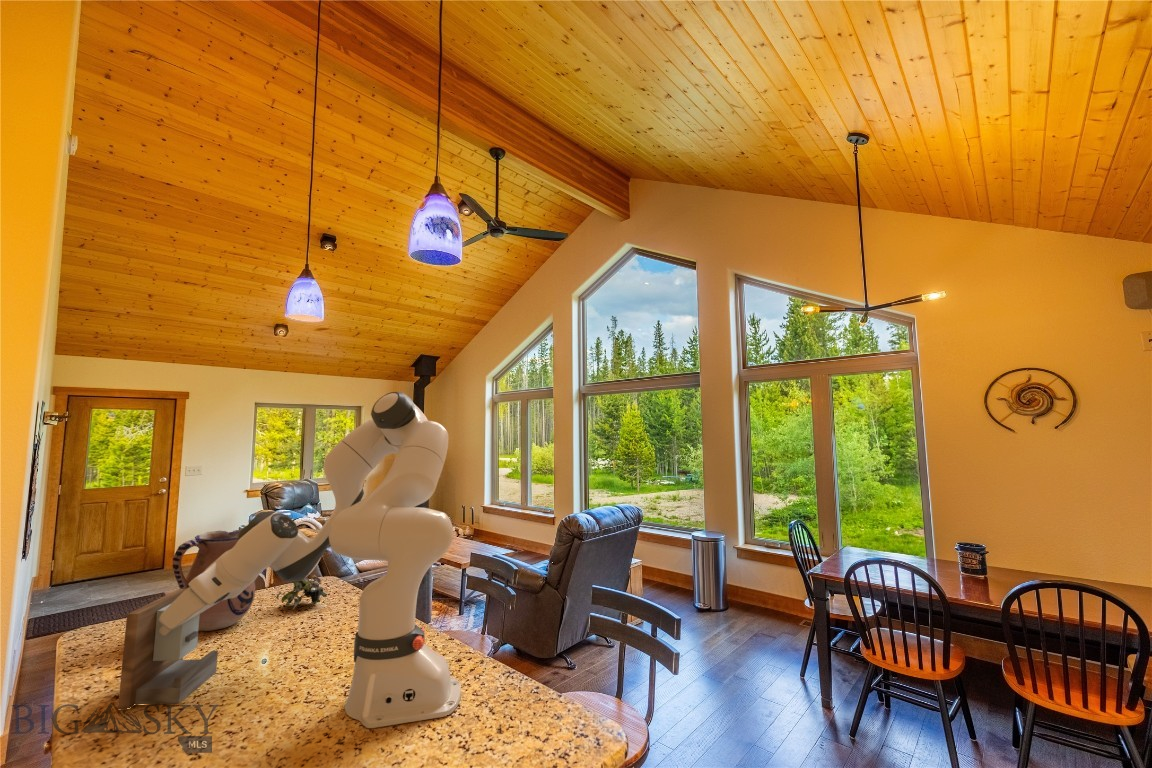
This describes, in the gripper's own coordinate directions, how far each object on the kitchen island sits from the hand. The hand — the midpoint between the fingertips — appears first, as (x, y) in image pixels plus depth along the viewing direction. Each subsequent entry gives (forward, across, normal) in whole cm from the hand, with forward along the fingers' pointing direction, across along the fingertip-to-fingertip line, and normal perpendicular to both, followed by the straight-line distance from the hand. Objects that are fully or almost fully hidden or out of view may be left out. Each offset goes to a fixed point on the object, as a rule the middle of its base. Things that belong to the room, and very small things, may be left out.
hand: (175, 625), depth 108 cm
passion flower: (+4, -49, +15) cm, 51 cm away
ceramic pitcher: (+17, -34, +2) cm, 37 cm away
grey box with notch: (+4, 0, +5) cm, 6 cm away
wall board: (+8, 0, +10) cm, 13 cm away
